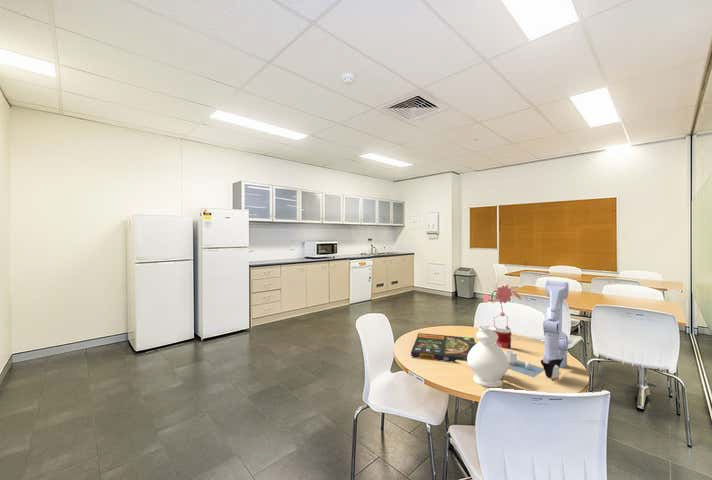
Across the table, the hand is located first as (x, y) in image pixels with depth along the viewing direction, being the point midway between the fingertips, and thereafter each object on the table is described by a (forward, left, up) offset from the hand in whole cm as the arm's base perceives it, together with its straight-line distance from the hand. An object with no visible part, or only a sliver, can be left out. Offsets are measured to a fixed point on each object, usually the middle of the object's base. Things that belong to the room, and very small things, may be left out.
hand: (552, 374), depth 142 cm
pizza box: (+9, -55, -3) cm, 55 cm away
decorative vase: (+26, -18, -2) cm, 31 cm away
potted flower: (-41, -44, -2) cm, 60 cm away
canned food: (-20, -34, -2) cm, 39 cm away
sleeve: (0, 0, -2) cm, 2 cm away
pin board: (+2, -14, -2) cm, 14 cm away
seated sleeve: (+2, -19, 0) cm, 19 cm away
